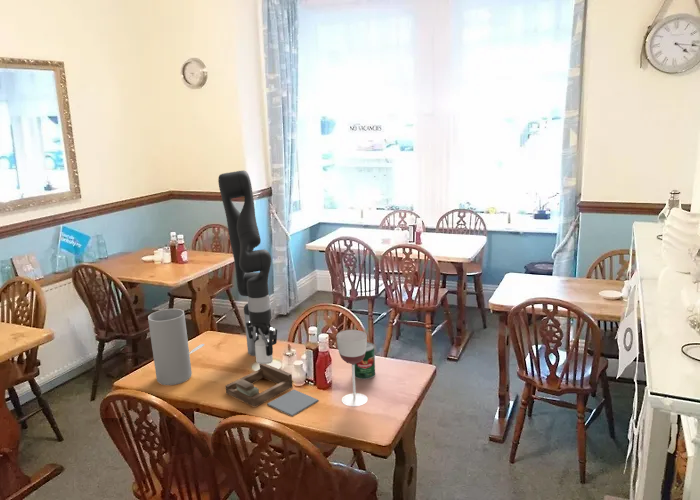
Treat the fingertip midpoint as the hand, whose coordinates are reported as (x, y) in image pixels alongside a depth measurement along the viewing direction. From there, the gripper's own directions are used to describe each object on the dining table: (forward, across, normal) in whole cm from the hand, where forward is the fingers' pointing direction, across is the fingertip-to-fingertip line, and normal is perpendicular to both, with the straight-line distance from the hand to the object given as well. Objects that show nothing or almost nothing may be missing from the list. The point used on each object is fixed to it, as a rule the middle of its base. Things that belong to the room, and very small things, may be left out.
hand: (263, 352), depth 199 cm
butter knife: (+14, +46, +4) cm, 48 cm away
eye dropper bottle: (+4, 0, 0) cm, 4 cm away
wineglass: (+13, -31, -11) cm, 36 cm away
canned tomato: (+13, -22, -27) cm, 38 cm away
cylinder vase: (+13, +33, +16) cm, 39 cm away
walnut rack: (+13, 0, +4) cm, 13 cm away
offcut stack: (+13, 0, +9) cm, 16 cm away
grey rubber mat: (+13, -16, +3) cm, 21 cm away
